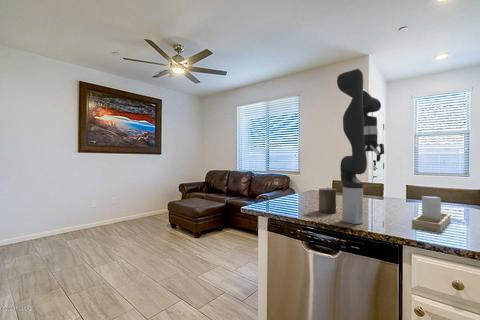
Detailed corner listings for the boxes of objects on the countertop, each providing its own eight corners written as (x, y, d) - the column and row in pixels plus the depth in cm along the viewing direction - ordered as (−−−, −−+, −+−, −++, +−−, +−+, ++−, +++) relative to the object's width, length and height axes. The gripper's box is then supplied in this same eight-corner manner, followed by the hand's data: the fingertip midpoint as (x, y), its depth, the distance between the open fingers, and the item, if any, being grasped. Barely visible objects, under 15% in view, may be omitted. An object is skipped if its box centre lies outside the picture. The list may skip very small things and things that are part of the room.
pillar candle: (337, 214, 129) (338, 187, 129) (320, 213, 130) (320, 187, 130) (333, 210, 138) (333, 186, 139) (317, 209, 140) (317, 185, 140)
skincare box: (436, 220, 111) (436, 196, 111) (441, 223, 107) (441, 198, 107) (421, 219, 112) (421, 196, 112) (426, 222, 108) (426, 197, 108)
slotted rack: (440, 232, 97) (440, 224, 97) (412, 227, 104) (412, 219, 104) (450, 221, 114) (450, 214, 114) (425, 217, 122) (425, 211, 122)
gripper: (354, 134, 136) (354, 161, 136) (381, 132, 125) (381, 161, 125) (359, 135, 141) (359, 161, 141) (385, 133, 130) (385, 161, 130)
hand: (369, 161), depth 133 cm, fingers open, 8 cm apart
